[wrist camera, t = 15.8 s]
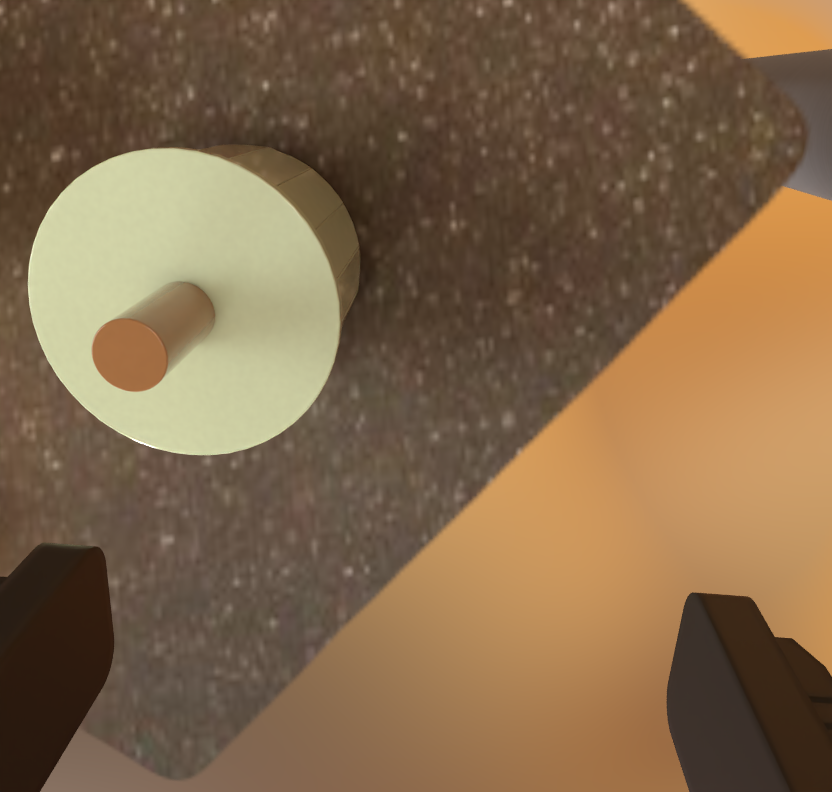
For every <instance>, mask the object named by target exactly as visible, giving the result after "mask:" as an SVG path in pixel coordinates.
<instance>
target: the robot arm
mask: <svg viewBox="0 0 832 792" xmlns="http://www.w3.org/2000/svg"><path fill="white" fill-rule="evenodd" d="M113 652H114V633H113V624H112V614H111V605H110V596H109V587H108V577H107V568H106V560H105V556H104V553H103V551H102V550H101V549H100V548H99V547H95V546H82V545H68V544H55V543H41V544H40V545H38V546H37V547H36V548H35V549H34V550H33V551H32V552H31V553H30V554H29V555H28V556H27V557H26V558H25V559H24V560H23V561H22V562H21V564H20V565H19V566H18V567H17V568H16V569H15V570H14V571H13V572H12V573H11V574H10V575H9V576H8V577H0V792H40V791H41V789H42V787H43V786H44V784H45V782H46V781H47V779H48V777H49V776H50V774H51V772H52V771H53V769H54V767H55V766H56V764H57V762H58V761H59V759H60V757H61V756H62V754H63V752H64V751H65V749H66V747H67V746H68V744H69V742H70V741H71V739H72V737H73V736H74V734H75V732H76V731H77V729H78V727H79V726H80V724H81V723H82V721H83V719H84V718H85V716H86V714H87V713H88V711H89V709H90V708H91V706H92V704H93V703H94V701H95V699H96V698H97V696H98V694H99V693H100V691H101V689H102V688H103V686H104V684H105V682H106V679H107V677H108V674H109V671H110V668H111V664H112V659H113ZM667 716H668V723H669V729H670V733H671V736H672V739H673V742H674V745H675V748H676V752H677V755H678V758H679V761H680V764H681V767H682V770H683V773H684V776H685V779H686V782H687V785H688V788H689V792H832V677H831V675H830V673H829V672H828V670H827V669H826V667H825V666H824V665H823V664H821V663H820V662H819V661H818V660H817V659H815V658H814V657H813V656H812V655H811V654H810V653H809V652H807V651H806V650H805V649H804V648H803V647H801V646H800V645H799V644H798V643H797V642H796V641H795V640H793V639H792V638H778V637H774V635H773V633H772V632H771V630H770V628H769V627H768V625H767V623H766V621H765V620H764V618H763V616H762V615H761V612H760V611H759V609H758V607H757V605H756V604H755V602H754V601H753V600H752V599H751V598H750V597H746V596H732V595H719V594H706V593H691V594H690V595H689V596H688V597H687V599H686V602H685V605H684V609H683V614H682V619H681V624H680V629H679V633H678V638H677V643H676V647H675V652H674V657H673V662H672V667H671V671H670V676H669V681H668V687H667Z"/></svg>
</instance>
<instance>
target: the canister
mask: <svg viewBox="0 0 832 792" xmlns="http://www.w3.org/2000/svg"><path fill="white" fill-rule="evenodd" d="M200 150H203V151H206V152H210V153H214V154H218V155H221V156H224V157H226V158H229V159H231V160H234V161H236V162H238V163H241V164H243V165H245V166H247V167H248V168H250V169H252V170H254V171H255V172H257V173H259V174H261V175H262V176H264V177H265V178H266V179H268V180H269V181H270V182H272V183H273V184H274V185H276V186H277V187H278V188H280V189H281V190H282V191H283V192H284V193H285V194H286V195H287V196H288V197H289V198H290V199H291V200H292V201H293V202H295V203H296V204H297V206H298V207H299V208H300V209H301V211H302V212H303V213H304V214H305V215H306V217H307V218H308V219H309V220H310V222H311V223H312V225H313V226H314V228H315V230H316V231H317V233H318V234H319V236H320V238H321V239H322V241H323V243H324V245H325V247H326V250H327V252H328V254H329V256H330V258H331V261H332V264H333V267H334V270H335V273H336V276H337V279H338V285H339V290H340V296H341V306H342V325H343V323H344V321H345V319H346V317H347V314H348V312H349V310H350V308H351V306H352V304H353V301H354V299H355V297H356V295H357V293H358V289H359V277H360V247H359V243H358V238H357V234H356V231H355V228H354V225H353V222H352V220H351V217H350V215H349V213H348V211H347V209H346V207H345V206H344V204H343V202H342V201H341V199H340V197H339V196H338V195H337V193H336V192H335V191H334V190H333V188H332V187H331V186H330V185H329V184H328V183H327V182H326V181H325V180H324V179H323V178H322V177H321V176H320V175H319V174H318V173H317V172H316V171H314V170H313V169H312V168H311V167H309V166H308V165H306V164H305V163H303V162H301V161H299V160H298V159H296V158H294V157H292V156H290V155H288V154H285V153H283V152H280V151H278V150H275V149H273V148H271V147H269V148H268V147H263V146H254V145H228V144H224V145H218V146H214V147H209V148H205V149H200Z"/></svg>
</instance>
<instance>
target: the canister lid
mask: <svg viewBox="0 0 832 792" xmlns="http://www.w3.org/2000/svg"><path fill="white" fill-rule="evenodd" d="M28 292H29V304H30V309H31V315H32V320H33V324H34V327H35V330H36V333H37V336H38V339H39V342H40V344H41V346H42V349H43V351H44V353H45V355H46V357H47V359H48V361H49V363H50V364H51V366H52V368H53V369H54V371H55V372H56V374H57V376H58V377H59V379H60V380H61V381H62V383H63V384H64V385H65V386H66V388H67V389H68V390H69V391H70V393H71V394H72V395H73V396H74V397H75V398H76V399H77V400H78V401H79V402H80V403H81V404H82V405H83V406H84V407H85V408H86V409H87V410H88V411H90V412H91V413H92V414H93V415H94V416H96V417H97V418H98V419H99V420H100V421H102V422H103V423H105V424H106V425H108V426H110V427H111V428H113V429H114V430H116V431H117V432H119V433H121V434H123V435H125V436H127V437H129V438H131V439H133V440H135V441H137V442H140V443H143V444H145V445H148V446H151V447H153V448H157V449H161V450H165V451H169V452H173V453H181V454H189V455H216V454H225V453H231V452H236V451H240V450H244V449H248V448H250V447H253V446H256V445H258V444H261V443H263V442H265V441H267V440H269V439H271V438H273V437H275V436H276V435H278V434H280V433H282V432H283V431H284V430H286V429H287V428H288V427H290V426H291V425H292V424H294V423H295V422H296V421H297V420H298V419H299V418H300V417H301V416H302V415H303V414H304V413H305V412H306V411H307V410H308V409H309V408H310V406H311V405H312V404H313V402H314V401H315V400H316V398H317V397H318V396H319V394H320V392H321V390H322V389H323V387H324V385H325V383H326V381H327V380H328V378H329V375H330V373H331V370H332V368H333V365H334V362H335V360H336V357H337V352H338V348H339V344H340V339H341V328H342V306H341V296H340V290H339V285H338V279H337V276H336V273H335V270H334V267H333V264H332V261H331V258H330V256H329V254H328V252H327V250H326V247H325V245H324V243H323V241H322V239H321V238H320V236H319V234H318V233H317V231H316V230H315V228H314V226H313V225H312V223H311V222H310V220H309V219H308V218H307V217H306V215H305V214H304V213H303V212H302V211H301V209H300V208H299V207H298V206H297V204H296V203H295V202H293V201H292V200H291V199H290V198H289V197H288V196H287V195H286V194H285V193H284V192H283V191H282V190H281V189H280V188H278V187H277V186H276V185H274V184H273V183H272V182H270V181H269V180H268V179H266V178H265V177H264V176H262V175H261V174H259V173H257V172H255V171H254V170H252V169H250V168H248V167H247V166H245V165H243V164H241V163H238V162H236V161H234V160H231V159H229V158H226V157H224V156H221V155H218V154H214V153H210V152H206V151H203V150H197V149H189V148H181V147H156V148H150V149H143V150H137V151H132V152H128V153H125V154H122V155H119V156H115V157H112V158H110V159H108V160H106V161H104V162H102V163H100V164H97V165H95V166H93V167H92V168H90V169H89V170H88V171H86V172H85V173H83V174H82V175H80V176H79V177H77V178H76V179H75V180H74V181H73V182H72V183H71V184H70V185H69V186H68V187H67V188H66V189H64V190H63V191H62V193H61V194H60V195H59V196H58V198H57V199H56V200H55V202H54V203H53V204H52V205H51V207H50V208H49V210H48V212H47V214H46V216H45V217H44V219H43V221H42V223H41V225H40V227H39V230H38V233H37V235H36V238H35V241H34V243H33V248H32V253H31V257H30V262H29V275H28Z"/></svg>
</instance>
